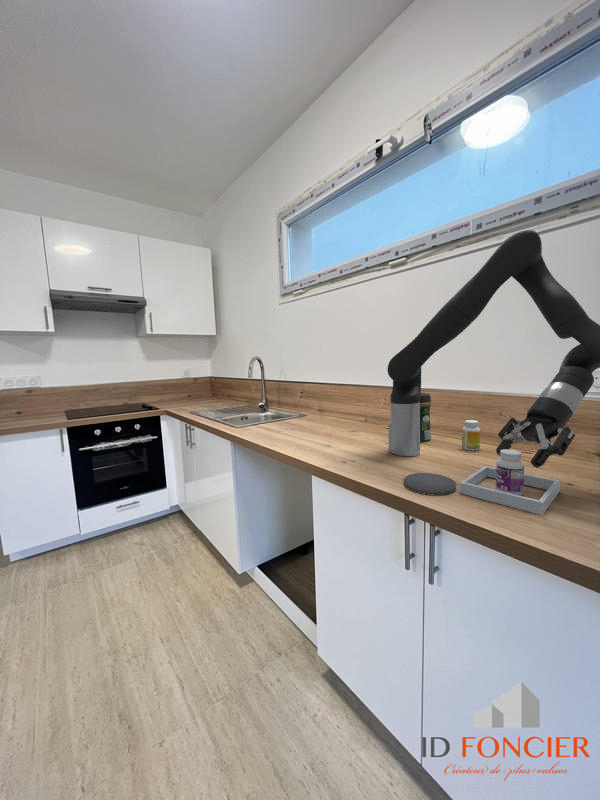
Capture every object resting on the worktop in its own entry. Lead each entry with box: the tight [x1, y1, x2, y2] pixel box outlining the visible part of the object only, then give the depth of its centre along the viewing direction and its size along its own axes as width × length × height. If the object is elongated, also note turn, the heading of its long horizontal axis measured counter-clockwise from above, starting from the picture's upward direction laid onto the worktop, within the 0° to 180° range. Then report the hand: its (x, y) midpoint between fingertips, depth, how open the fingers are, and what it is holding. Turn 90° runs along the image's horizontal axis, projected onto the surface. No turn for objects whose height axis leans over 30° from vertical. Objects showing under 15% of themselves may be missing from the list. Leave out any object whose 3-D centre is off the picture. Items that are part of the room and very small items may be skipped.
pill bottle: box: [495, 448, 525, 496], centre depth 72 cm, size 5×5×10 cm
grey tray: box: [459, 465, 561, 516], centre depth 73 cm, size 16×16×2 cm
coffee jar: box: [420, 392, 432, 443], centre depth 122 cm, size 10×8×19 cm
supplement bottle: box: [461, 419, 481, 452], centre depth 107 cm, size 5×5×10 cm
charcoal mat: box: [403, 472, 457, 496], centre depth 79 cm, size 12×12×1 cm
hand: (515, 459), depth 72 cm, fingers open, 8 cm apart
